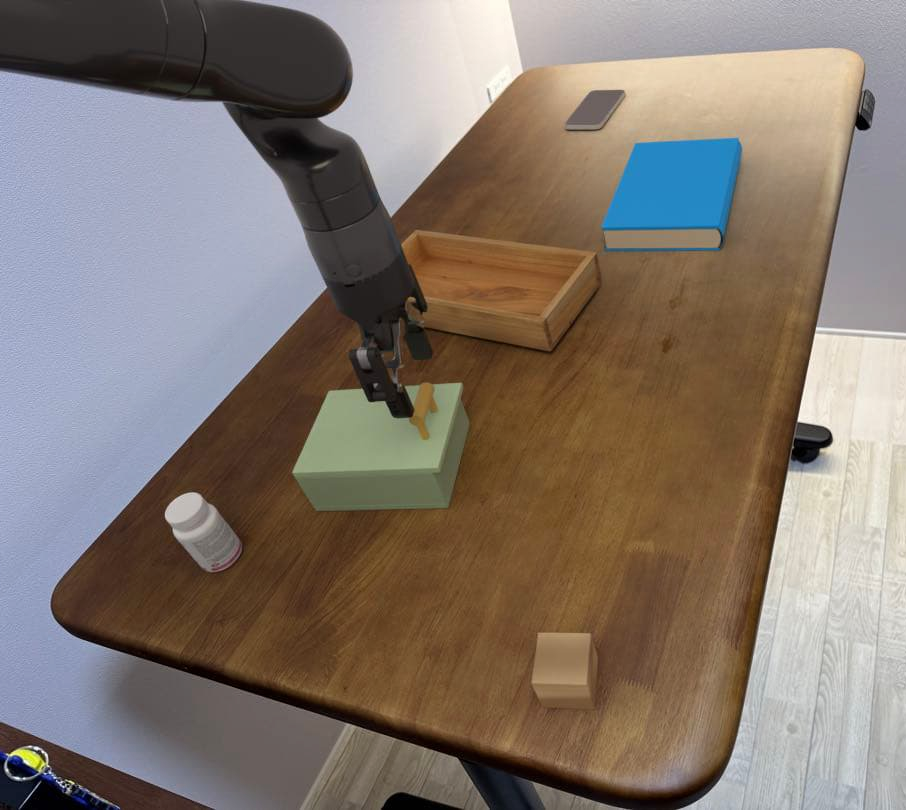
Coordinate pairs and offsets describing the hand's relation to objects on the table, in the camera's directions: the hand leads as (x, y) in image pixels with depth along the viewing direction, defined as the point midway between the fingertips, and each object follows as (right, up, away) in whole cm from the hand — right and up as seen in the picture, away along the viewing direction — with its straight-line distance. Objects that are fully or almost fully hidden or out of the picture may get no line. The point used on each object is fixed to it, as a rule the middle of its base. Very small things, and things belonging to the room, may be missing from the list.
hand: (414, 385), depth 80 cm
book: (+34, +28, +38) cm, 58 cm away
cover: (-5, -5, +6) cm, 9 cm away
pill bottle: (-22, -18, +5) cm, 29 cm away
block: (+16, -26, -13) cm, 33 cm away
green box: (-4, -9, +10) cm, 14 cm away
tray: (+5, +12, +30) cm, 32 cm away
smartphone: (+23, +53, +67) cm, 88 cm away
